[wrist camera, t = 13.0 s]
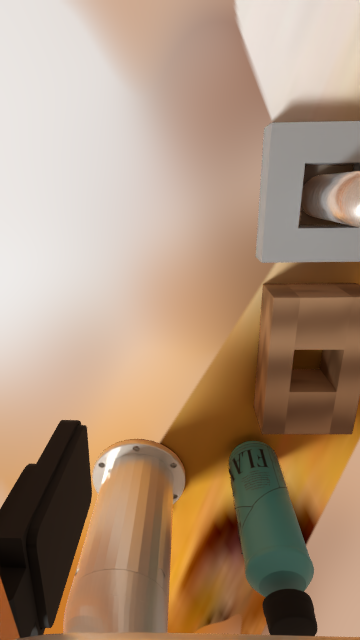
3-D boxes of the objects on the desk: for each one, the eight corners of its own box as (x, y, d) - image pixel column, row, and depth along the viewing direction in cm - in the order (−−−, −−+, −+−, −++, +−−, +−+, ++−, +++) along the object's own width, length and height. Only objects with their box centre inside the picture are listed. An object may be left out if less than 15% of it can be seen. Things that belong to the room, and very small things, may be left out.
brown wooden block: (334, 407, 43) (351, 434, 38) (253, 407, 43) (261, 434, 38) (355, 283, 37) (380, 297, 32) (263, 284, 37) (274, 297, 33)
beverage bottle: (263, 424, 44) (319, 597, 25) (282, 460, 46) (347, 645, 27) (217, 442, 45) (238, 621, 27) (238, 477, 47) (272, 665, 29)
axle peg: (337, 216, 35) (409, 231, 24) (297, 217, 35) (350, 231, 24) (343, 174, 33) (423, 167, 22) (302, 174, 33) (360, 168, 22)
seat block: (370, 255, 36) (385, 261, 33) (255, 256, 36) (261, 262, 34) (394, 125, 32) (414, 119, 29) (264, 128, 32) (271, 122, 29)
